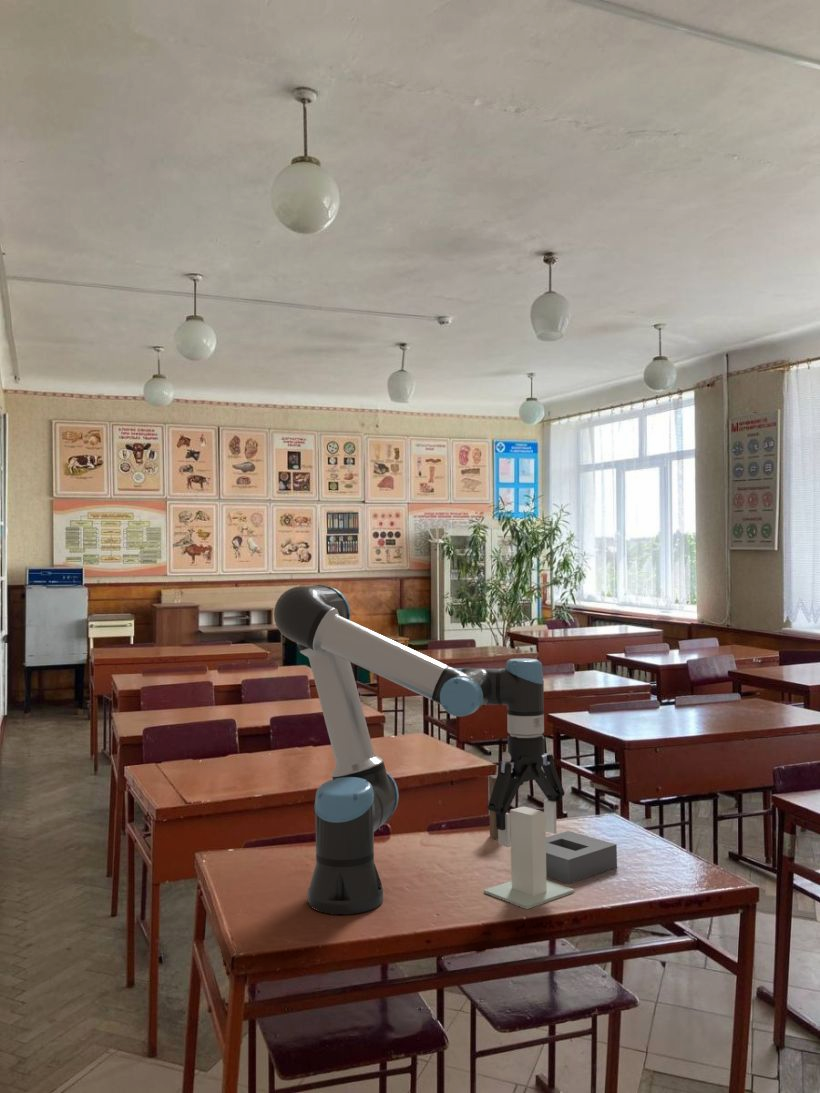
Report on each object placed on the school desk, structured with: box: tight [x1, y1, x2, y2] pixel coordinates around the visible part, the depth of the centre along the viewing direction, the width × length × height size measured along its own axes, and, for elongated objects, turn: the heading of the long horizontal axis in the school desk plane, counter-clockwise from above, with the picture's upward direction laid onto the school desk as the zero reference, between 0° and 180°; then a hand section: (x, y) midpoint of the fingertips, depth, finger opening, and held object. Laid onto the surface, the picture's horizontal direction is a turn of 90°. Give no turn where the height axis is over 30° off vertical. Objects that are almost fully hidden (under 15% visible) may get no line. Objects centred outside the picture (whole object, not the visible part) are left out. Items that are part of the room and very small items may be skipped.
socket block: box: [546, 830, 618, 885], centre depth 199 cm, size 16×14×5 cm
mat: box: [483, 879, 575, 910], centre depth 184 cm, size 14×12×1 cm
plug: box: [509, 806, 547, 896], centre depth 184 cm, size 4×6×16 cm, turn 39°
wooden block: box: [488, 774, 511, 840], centre depth 223 cm, size 7×3×15 cm, turn 106°
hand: (528, 838), depth 184 cm, fingers open, 13 cm apart
